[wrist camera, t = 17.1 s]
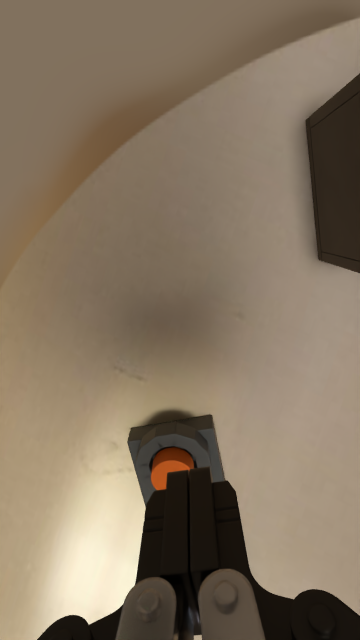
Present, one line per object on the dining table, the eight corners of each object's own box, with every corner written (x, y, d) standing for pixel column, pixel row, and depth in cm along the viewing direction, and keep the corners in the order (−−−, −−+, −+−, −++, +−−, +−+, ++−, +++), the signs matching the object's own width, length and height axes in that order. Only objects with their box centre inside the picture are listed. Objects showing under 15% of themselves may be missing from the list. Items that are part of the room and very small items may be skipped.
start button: (197, 478, 31) (197, 493, 29) (157, 483, 31) (156, 499, 29) (189, 443, 30) (189, 457, 28) (148, 450, 30) (146, 463, 28)
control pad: (245, 583, 39) (251, 623, 35) (176, 591, 40) (174, 632, 36) (209, 403, 33) (211, 427, 29) (127, 416, 33) (119, 442, 29)
